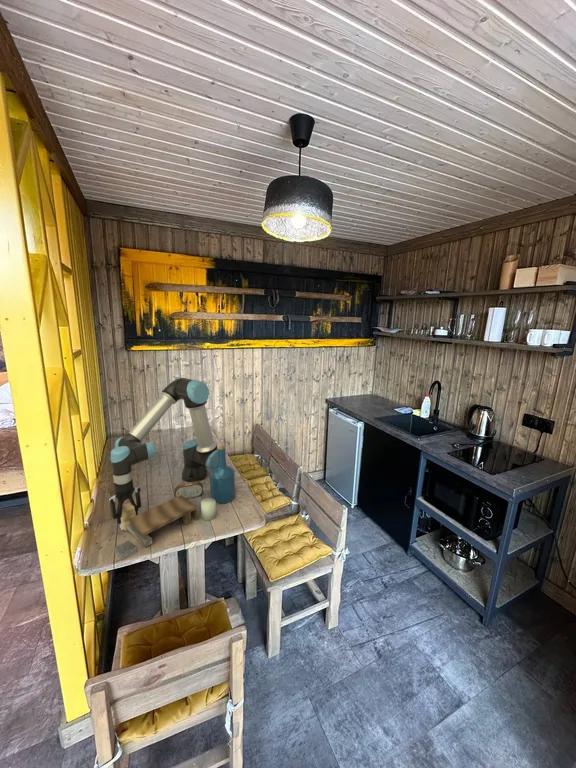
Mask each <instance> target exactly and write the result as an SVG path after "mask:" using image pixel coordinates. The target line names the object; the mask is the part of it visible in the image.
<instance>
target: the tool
mask: <svg viewBox="0 0 576 768" xmlns="http://www.w3.org/2000/svg"><path fill="white" fill-rule="evenodd" d="M121 516H122V517H123V523H124V530H123V531H125V532H129V533H130V534H131V535H132V536H133V537H134V538H135V539H136V540H137V541H138V542H140V543H141V544H142V546H144V547H145V548H147V547H149V546H151V545H153V538H152V537H151V536H150V535H149V534H147V535H145V536H144V535H143V534H142V533H141V532H140V531H139V530H137V529H136V528H135V527H134V526H133V525H132V524H131V523H130V521H129V519H130V518H132V517H134V516H135V508H134V506H133V505H132V504H131V503H130V502H128V503H125V504H123V507H122V513H121Z"/></svg>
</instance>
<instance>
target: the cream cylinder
mask: <svg viewBox="0 0 576 768" xmlns="http://www.w3.org/2000/svg"><path fill="white" fill-rule="evenodd" d="M216 505H217V503H216V501H215V499H212V498H211V497H207V498H204V499H202V500H201V501H200V512H201V514H200V516H201V520H202V521H205V522H211V521H213V520H215V519H216V518H217V506H216Z"/></svg>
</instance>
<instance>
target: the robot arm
mask: <svg viewBox="0 0 576 768" xmlns="http://www.w3.org/2000/svg"><path fill="white" fill-rule="evenodd" d="M209 397H210V389H209V387H208V385H207V384H206V383H205V382H203V381H201V380H199V379H198V380H197V379H190V378H186V377H179V378H176V379H174V380H173V381H171V382H170V383H168V384H167V385H166V386H165V387H164V388H163V389H162V391H161V392H160V396H159V397H158V398H157V399H156V401H155V402H154V403H153V404H152V405H151V406H150V407H149V409H148V410H147V411H146V412H145V413H144V414H143V415H142V417H140V419H139V420H138V421H137V422H136V424H135V425H133V427H132V428H131V430H130V431H129V432H128V433H127V434H126V435H125V436H121V437H119V438H117V439H116V441H115V442H114V448H113V449H112V450H111V451H110V463H111V468H112V476H113V477H112V478H113V485H114V495H113V496H111V497H108V501H109V507H110V513H111V518H112V519H113V520H116V523H117V524H118V525H119V528H120V529H121V531H125V530H124V523H123V517H122V516H121V513H122V507H123V505H124V503H125V501H126V500H129V503H130V504H132V505H133V506H134V508H135V516H136V515H139V513H138V512H139V509H140V508H142V500H141V490H142V489H141V487H139V486H136V487H135V486H134V480H133V471H132V466H134V465H136V464H139V463H141V462H144V461H147V460H149V459H151V458H153V457H155V456H156V454H157V448H156V446H155V444H154V443H153V442H151V441H148V442H144V443H142V441H143V440H144V439H145V438H146V437H147V435H148V434H149V433H150V432H151V431H152V429H153V428H154V427H155V426H156V424H157V423H159V421H160V420H161V418H162V417H163V416H164V415H165V414H166V413H167V412H168V410H169V409H170V408H171V407H172V406H173V405H175V404H176V403H177V402H179V401H180V400H182V401H183V403H184V407H185V408H186V409H188V412H189V415H190V419H191V423H192V427H193V430H194V434H195V438H192V439H189V440H187V441H184V442H183V444H182V452H183V469H182V472H181V479H182V481H184V482H185V483H190V482H200V481H203V480H204V479H206V478H208V470H207V469H209V470H212V469H213V468H215V467H216V466H218V455H217V454H218V449H219V447H218V444H217V442H216V441H214V438H213V435H212V430H211V426H210V422H209V417H208V412H207V409H206V404H207V403H208V399H209ZM133 494H134V496H135V497H133ZM134 498H135V500H134ZM116 499H117V506H116Z"/></svg>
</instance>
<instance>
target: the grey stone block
mask: <svg viewBox="0 0 576 768" xmlns="http://www.w3.org/2000/svg"><path fill="white" fill-rule="evenodd" d="M136 548H137V547H136V546H135V545H134V544H133V543H132V542H131V541H130V540H127V541H125V542H123V543H121V544H119V545H116V547H114V554H115V556H117V557H118V558H119V560H120V559H121V560H120V561H123V560H125V559H127V558H129V557H130V556H132V555H134V554H136V553H137V549H136Z"/></svg>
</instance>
